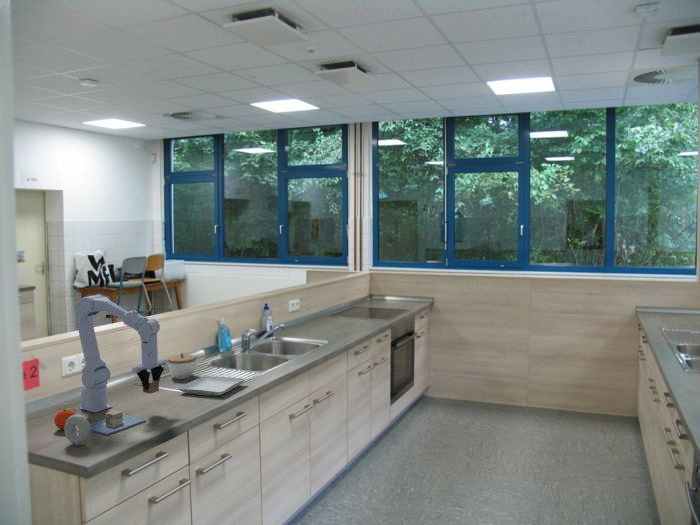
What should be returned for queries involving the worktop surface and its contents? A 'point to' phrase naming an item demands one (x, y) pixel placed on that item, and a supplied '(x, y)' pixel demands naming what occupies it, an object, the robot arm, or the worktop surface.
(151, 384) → the walnut block
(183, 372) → the lidded bowl
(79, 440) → the donut
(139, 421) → the board
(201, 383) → the salad plate
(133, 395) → the worktop surface
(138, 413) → the worktop surface
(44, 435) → the worktop surface
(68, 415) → the clementine
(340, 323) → the worktop surface
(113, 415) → the maple block
